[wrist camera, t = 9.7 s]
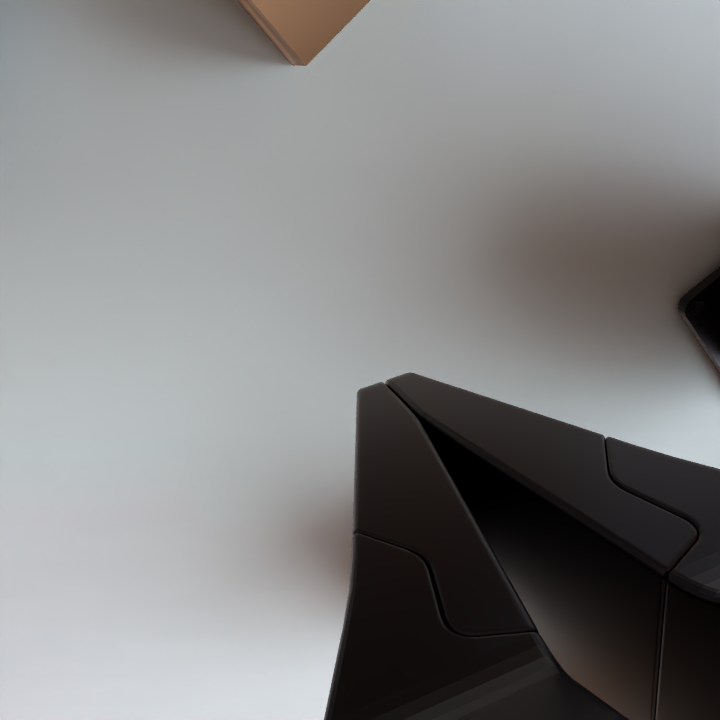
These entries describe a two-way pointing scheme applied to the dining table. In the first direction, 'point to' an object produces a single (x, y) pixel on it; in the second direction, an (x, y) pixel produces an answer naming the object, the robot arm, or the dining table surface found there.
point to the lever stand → (302, 23)
